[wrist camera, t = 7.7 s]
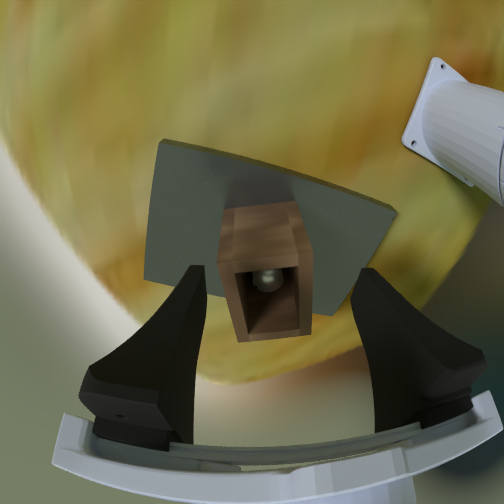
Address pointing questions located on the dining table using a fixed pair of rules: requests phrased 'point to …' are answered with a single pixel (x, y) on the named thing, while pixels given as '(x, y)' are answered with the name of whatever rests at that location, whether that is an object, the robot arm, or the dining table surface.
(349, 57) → the dining table surface
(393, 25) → the dining table surface
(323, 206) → the plate
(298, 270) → the hollow wooden block
